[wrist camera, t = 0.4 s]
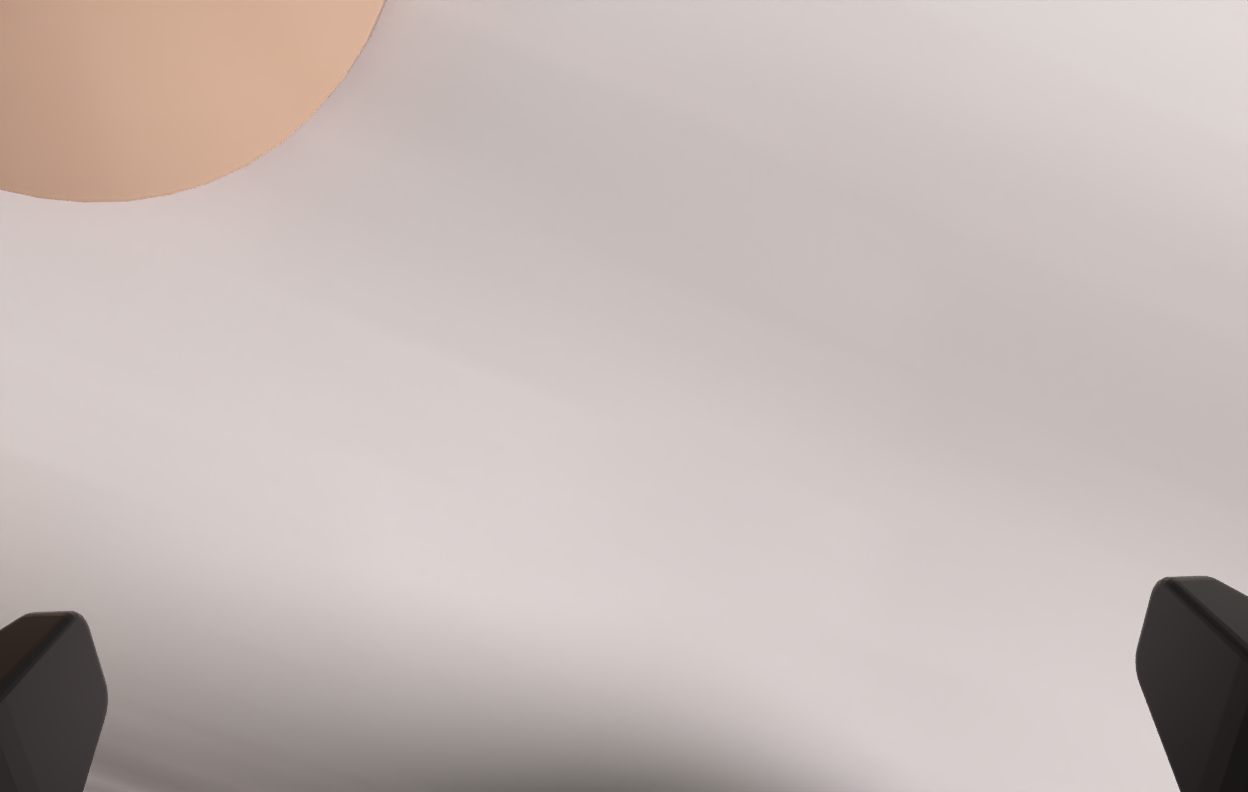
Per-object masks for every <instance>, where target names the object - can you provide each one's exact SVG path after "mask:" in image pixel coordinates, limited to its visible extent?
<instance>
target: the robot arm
mask: <svg viewBox="0 0 1248 792" xmlns="http://www.w3.org/2000/svg"><path fill="white" fill-rule="evenodd" d="M1136 672H1137V677H1138V680H1139V684H1140V686H1141V689H1142V692H1143V694H1144V697H1145V699H1146V702H1147V705H1148V707H1149V710H1150V713H1151V715H1152V718H1153V721H1154V723H1155V726H1156V728H1157V731H1158V734H1159V736H1160V739H1161V742H1162V744H1163V747H1164V750H1165V752H1166V755H1167V757H1168V760H1169V763H1170V765H1171V768H1172V771H1173V773H1174V776H1175V779H1176V781H1177V784H1178V786H1179V789H1180V792H1248V596H1246V595H1244V594H1243V593H1241V592H1239V591H1237V590H1235V589H1233V588H1231V587H1230V586H1228V585H1226V584H1224V583H1222V582H1220V581H1218V580H1217V579H1214V578H1212V577H1208V576H1182V577H1165V578H1163V579H1161V580H1159V581H1158V582H1157V583H1156V585H1155V586H1154V588H1153V590H1152V593H1151V596H1150V600H1149V604H1148V608H1147V611H1146V615H1145V619H1144V623H1143V627H1142V631H1141V635H1140V638H1139V642H1138V646H1137V651H1136ZM107 705H108V693H107V686H106V681H105V678H104V675H103V672H102V668H101V665H100V662H99V658H98V655H97V652H96V649H95V645H94V642H93V639H92V636H91V632H90V629H89V626H88V624H87V622H86V620H85V619H84V617H83V616H82V615H80V614H79V613H76V612H74V611H57V612H34V613H29V614H25V615H24V616H22V617H20V618H18V619H17V620H15V621H14V622H12V623H10V624H9V625H7V626H6V627H4V628H3V629H1V630H0V792H83V790H84V786H85V783H86V780H87V776H88V773H89V770H90V766H91V763H92V760H93V756H94V753H95V750H96V746H97V743H98V740H99V736H100V733H101V730H102V726H103V723H104V720H105V716H106V712H107Z"/></svg>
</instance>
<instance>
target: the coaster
mask: <svg viewBox="0 0 1248 792" xmlns="http://www.w3.org/2000/svg"><path fill="white" fill-rule="evenodd" d="M385 3H386V0H0V190H5V191H9V192H14V193H19V194H23V195H28V196H33V197H37V198H45V199H55V200H65V201H76V202H118V201H132V200H139V199H145V198H152V197H158V196H165V195H170V194H174V193H177V192H180V191H184V190H187V189H191V188H194V187H197V186H201V185H204V184H208V183H210V182H212V181H215V180H217V179H219V178H221V177H223V176H226V175H228V174H230V173H232V172H234V171H236V170H239V169H241V168H243V167H245V166H247V165H249V164H250V163H252V162H253V161H255V160H256V159H258V158H259V157H261V156H262V155H264V154H266V153H267V152H269V151H270V150H272V149H273V148H275V147H276V146H278V145H279V144H281V143H282V142H283V141H284V140H285V139H287V138H288V137H289V136H290V135H291V134H292V133H293V132H294V131H296V130H297V129H298V128H299V127H300V126H301V125H302V124H304V123H305V122H306V121H307V120H308V119H309V118H310V117H311V116H312V115H313V114H314V113H315V112H316V111H317V109H318V108H319V107H320V106H321V105H322V103H323V102H324V101H325V100H326V99H327V97H328V96H329V95H330V94H331V93H332V92H333V90H334V89H335V88H336V87H337V86H338V84H339V83H340V82H341V81H342V79H343V78H344V77H345V76H346V74H347V73H348V72H349V70H350V69H351V67H352V66H353V64H354V62H355V61H356V59H357V58H358V56H359V54H360V53H361V51H362V49H363V48H364V46H365V45H366V43H367V41H368V40H369V38H370V37H371V35H372V32H373V30H374V28H375V26H376V23H377V21H378V19H379V16H380V14H381V12H382V10H383V7H384V5H385Z"/></svg>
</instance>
